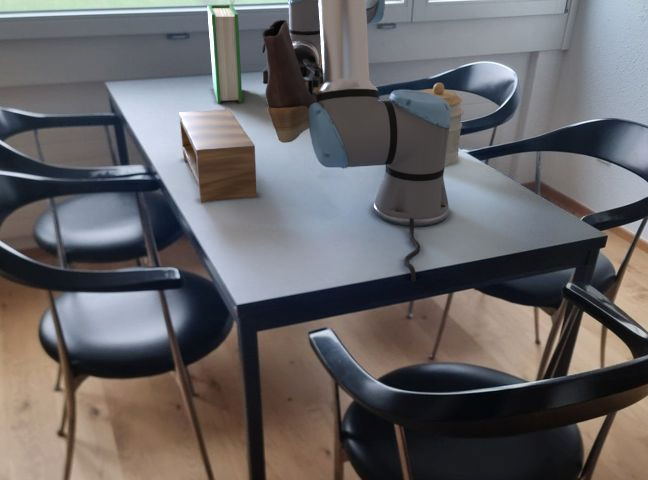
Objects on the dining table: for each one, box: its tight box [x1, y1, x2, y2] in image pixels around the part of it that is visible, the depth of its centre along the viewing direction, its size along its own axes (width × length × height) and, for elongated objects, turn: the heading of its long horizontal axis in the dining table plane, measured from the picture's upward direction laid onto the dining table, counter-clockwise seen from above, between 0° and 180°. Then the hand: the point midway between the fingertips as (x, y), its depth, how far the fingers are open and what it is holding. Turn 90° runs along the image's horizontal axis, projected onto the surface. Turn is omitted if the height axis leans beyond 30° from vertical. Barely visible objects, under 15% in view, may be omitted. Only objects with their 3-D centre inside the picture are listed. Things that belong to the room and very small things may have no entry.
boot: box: [261, 19, 317, 144], centre depth 137 cm, size 9×24×20 cm, turn 169°
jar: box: [421, 82, 465, 166], centre depth 165 cm, size 13×13×18 cm
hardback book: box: [206, 4, 243, 105], centre depth 208 cm, size 18×7×24 cm, turn 12°
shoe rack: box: [178, 108, 258, 203], centre depth 155 cm, size 28×12×11 cm, turn 17°
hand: (292, 87), depth 138 cm, fingers closed on boot, 6 cm apart
